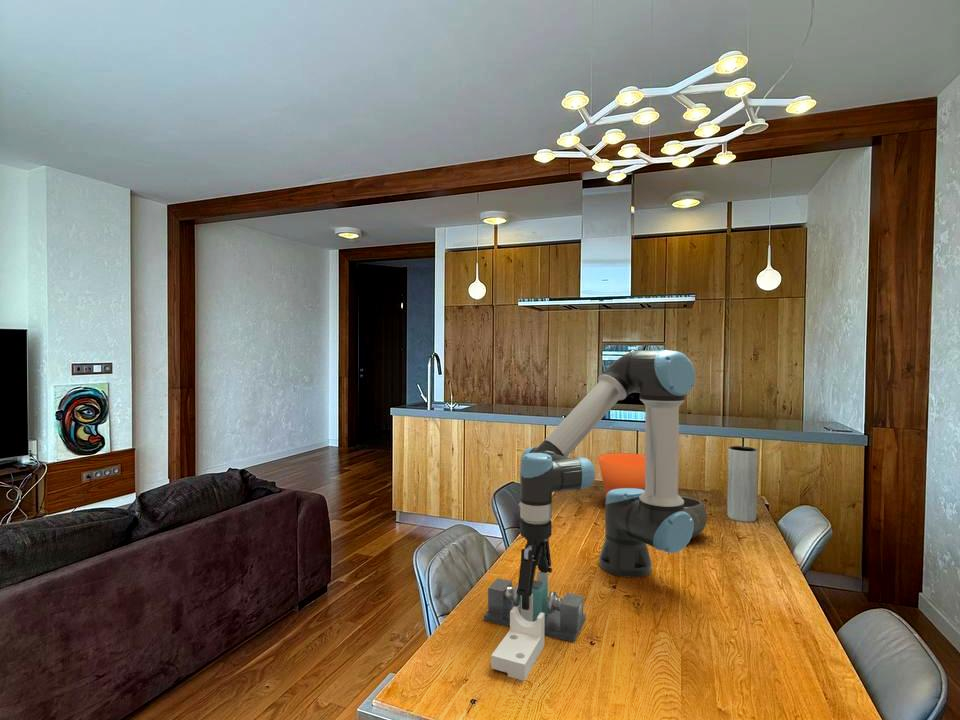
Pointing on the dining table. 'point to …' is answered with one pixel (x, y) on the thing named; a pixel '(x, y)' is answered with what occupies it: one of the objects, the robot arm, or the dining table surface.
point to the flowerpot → (622, 470)
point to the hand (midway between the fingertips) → (534, 609)
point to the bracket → (519, 646)
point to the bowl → (695, 514)
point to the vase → (742, 483)
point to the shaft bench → (560, 616)
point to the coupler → (539, 598)
